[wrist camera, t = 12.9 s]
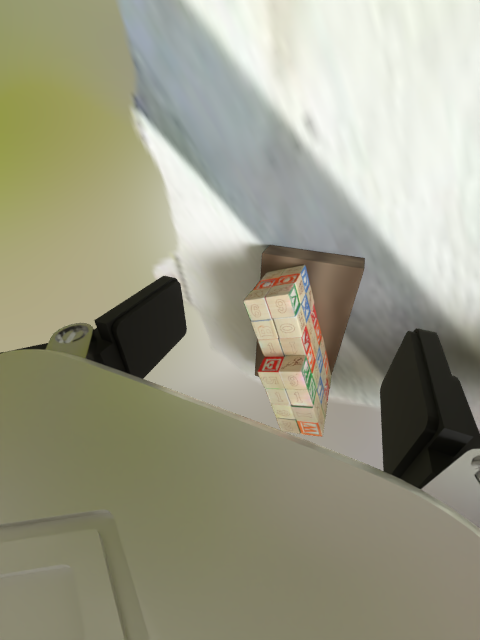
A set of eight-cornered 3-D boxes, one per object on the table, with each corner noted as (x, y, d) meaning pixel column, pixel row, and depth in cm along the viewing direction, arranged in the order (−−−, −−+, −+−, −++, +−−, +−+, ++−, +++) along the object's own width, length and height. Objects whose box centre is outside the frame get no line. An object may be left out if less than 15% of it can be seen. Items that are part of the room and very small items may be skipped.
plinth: (364, 258, 36) (364, 268, 33) (327, 382, 51) (324, 397, 48) (270, 244, 40) (262, 253, 37) (261, 362, 55) (254, 375, 52)
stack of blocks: (265, 271, 39) (232, 312, 29) (306, 263, 36) (283, 306, 26) (297, 376, 48) (280, 433, 39) (332, 377, 45) (322, 439, 35)
